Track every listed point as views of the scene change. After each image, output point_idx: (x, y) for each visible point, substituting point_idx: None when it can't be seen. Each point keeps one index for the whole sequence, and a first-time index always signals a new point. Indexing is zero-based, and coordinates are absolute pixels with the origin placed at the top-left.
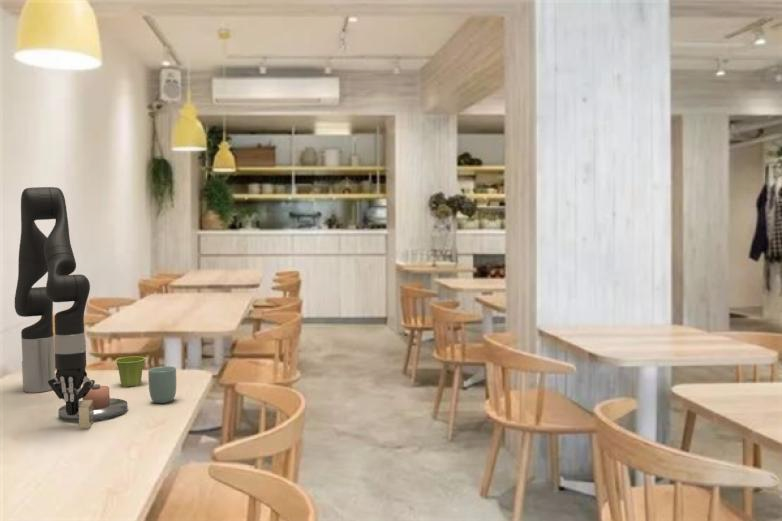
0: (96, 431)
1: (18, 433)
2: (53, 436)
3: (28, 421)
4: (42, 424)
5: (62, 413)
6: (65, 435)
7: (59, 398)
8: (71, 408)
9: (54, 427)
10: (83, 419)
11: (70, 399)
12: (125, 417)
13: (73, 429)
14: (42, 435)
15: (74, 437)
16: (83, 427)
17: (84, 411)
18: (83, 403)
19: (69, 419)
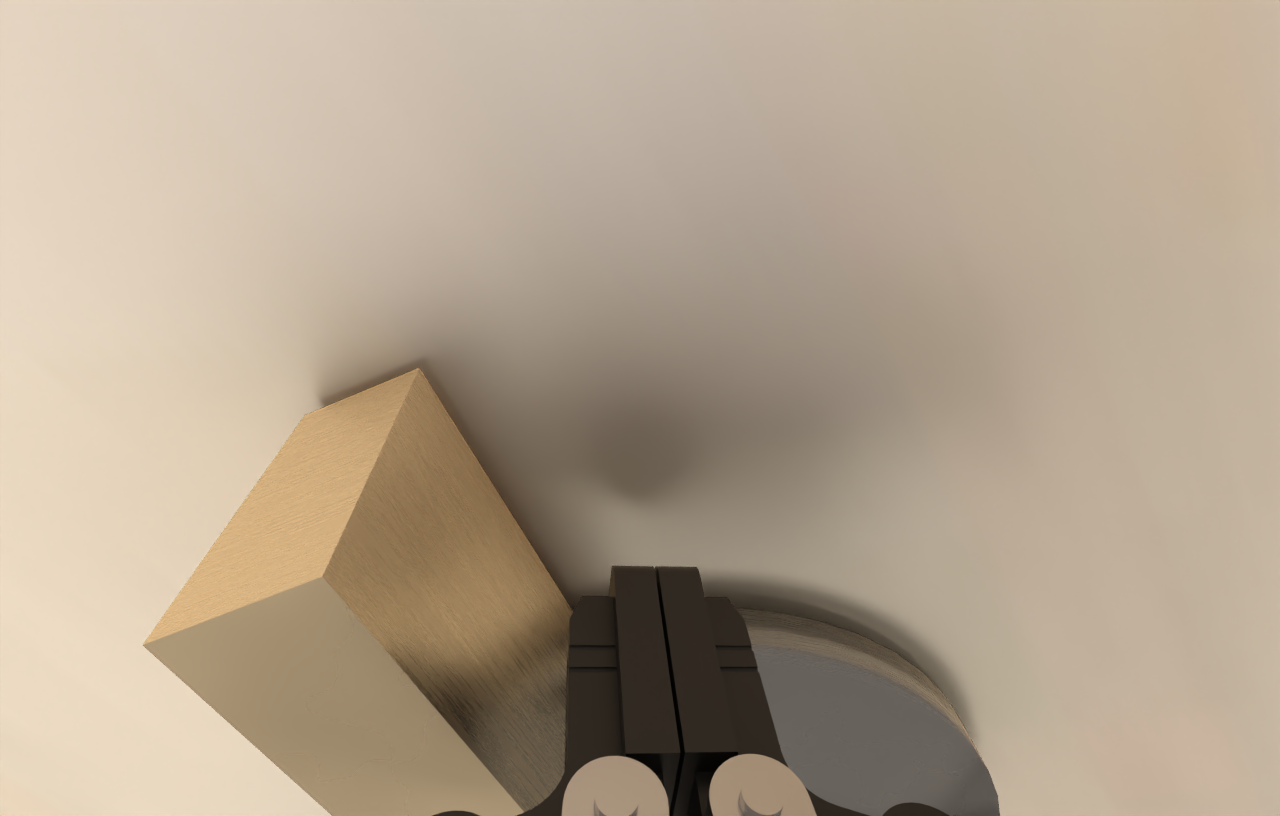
0: (153, 350)
1: (1227, 143)
2: (632, 44)
3: (1217, 571)
4: (1031, 508)
5: (886, 694)
6: (472, 118)
7: (933, 811)
8: (628, 645)
9: (839, 432)
10: (328, 456)
11: (654, 807)
12: (266, 788)
13: (545, 391)
14: (836, 81)
15: (240, 22)
16: (368, 391)
17: (259, 555)
18: (467, 794)
19: (758, 620)
